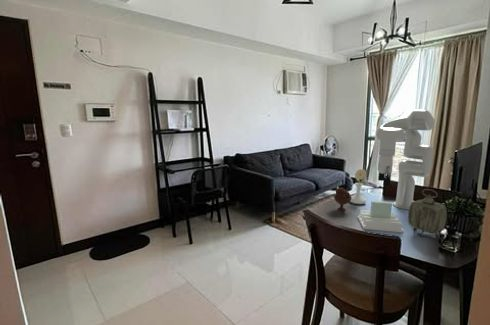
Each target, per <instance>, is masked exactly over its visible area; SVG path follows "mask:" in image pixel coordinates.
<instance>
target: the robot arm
mask: <svg viewBox="0 0 490 325" xmlns="http://www.w3.org/2000/svg"><path fill="white" fill-rule="evenodd" d="M434 127H435V119H434V117H433V115H432V113H431V112H430V111H429V110H427V109H407V110H404V112H402V114H401V115H400V116H399V117H398V118H396V119H392V120H390V121H386V122H384V123H383V124H382V125H381V126H379V127H378V129H377V132H376V138H377V139H378V141H379V149H378V150H379V151H378V155H379V157H378V161H377V162H378V163H377V171H378V178H377V180H378V181H381V182H382V181H383V184H382V185H383V186H389V187H390V186H391V180H392V179H391V178H392V172H393V162H394V161H393V160H394V156H396V155H395V154H396V147H397V146H396V145H397V143H401V142H403V141H404V140H405V142H404V147H403V156H404V158H407V159H408V160H407V159H406V160H401V161H399V163H398V166H397V168H398V181H397V189H396V198H395V201H394V202H393V203H392V206H394V207H396V208H399V209H402V210H403V209H404V210H409V208H410V205H411V203H412V202H415V201H416V200H414V192H415V187H416V182H415V179H414V177H419V178H420V177H421V178H426V177H429V175H430V172H431V168H432V162H433V156H434V149H433V147H432V146H431V145H429V144H421V142H422V134H421V133H420V132H419V131H427V132H428V131H431V130H432V129H433V128H434ZM410 159H413V160H410ZM416 160H417V161H416ZM418 160H421V161H418ZM413 176H414V177H413Z"/></svg>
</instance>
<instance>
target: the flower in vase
mask: <svg viewBox="0 0 490 325" xmlns="http://www.w3.org/2000/svg"><path fill="white" fill-rule="evenodd" d="M354 175H355V176H354V178H355V179H356V181H357V182H355V183H354V184H355V187H356V191H355V194H354V195H351V197H352V198H351V201H350V202H349V203H352V204H355V205H363V204H366V203H367V199H366V198H365V197H363V195H362V194H361V188H362V186H363V185H366V184H367V183H366V181H365V180H364V179H365V178H366V176H367V171H366V170H365V169H364V168H363V169H362V168H361V169H357V170H356V172H355V174H354ZM360 180H361V181H360Z"/></svg>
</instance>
